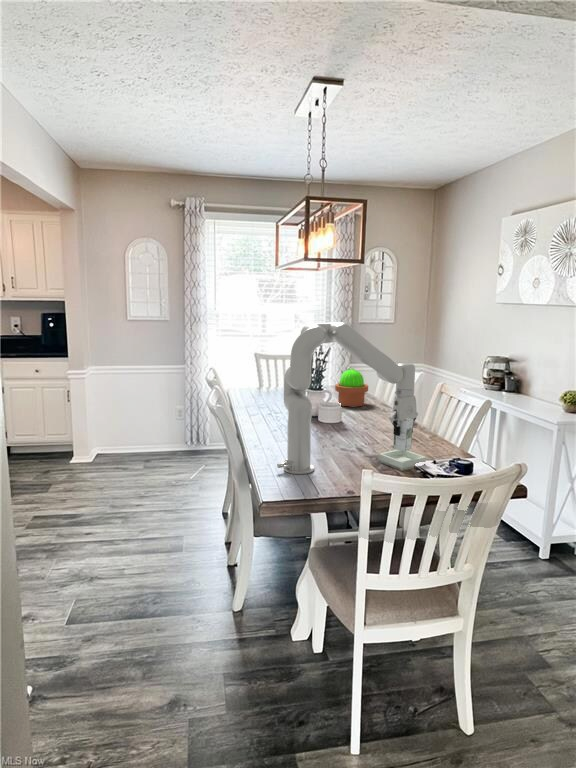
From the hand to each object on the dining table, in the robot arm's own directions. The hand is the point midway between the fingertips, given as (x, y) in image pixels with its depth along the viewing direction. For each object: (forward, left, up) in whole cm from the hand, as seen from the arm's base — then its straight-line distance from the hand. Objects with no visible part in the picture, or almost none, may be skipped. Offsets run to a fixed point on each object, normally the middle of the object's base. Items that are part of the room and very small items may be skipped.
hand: (403, 433), depth 203 cm
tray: (0, 0, -13) cm, 13 cm away
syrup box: (0, 0, -7) cm, 7 cm away
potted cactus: (+59, +104, -13) cm, 120 cm away
